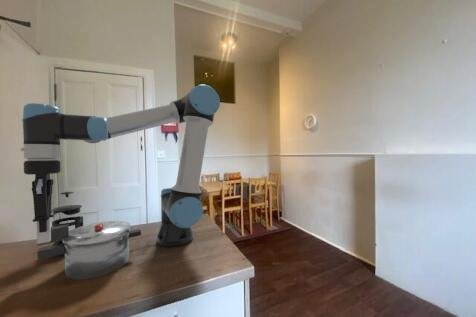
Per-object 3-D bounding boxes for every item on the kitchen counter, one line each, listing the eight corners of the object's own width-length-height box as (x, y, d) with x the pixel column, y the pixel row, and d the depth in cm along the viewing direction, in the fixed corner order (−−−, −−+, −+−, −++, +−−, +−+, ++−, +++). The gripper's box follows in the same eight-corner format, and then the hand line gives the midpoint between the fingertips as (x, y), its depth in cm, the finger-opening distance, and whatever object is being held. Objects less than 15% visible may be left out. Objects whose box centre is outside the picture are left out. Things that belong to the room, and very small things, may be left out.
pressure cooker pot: (136, 244, 85) (135, 220, 84) (145, 262, 70) (145, 233, 70) (44, 266, 68) (43, 236, 68) (32, 296, 53) (31, 258, 53)
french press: (66, 257, 74) (65, 194, 73) (42, 256, 74) (41, 194, 74) (92, 243, 85) (91, 189, 85) (71, 243, 86) (70, 189, 86)
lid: (124, 221, 83) (124, 209, 83) (136, 235, 68) (135, 221, 68) (41, 236, 67) (41, 222, 67) (33, 259, 53) (33, 241, 52)
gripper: (29, 159, 60) (31, 237, 61) (16, 160, 50) (18, 255, 50) (62, 159, 65) (63, 232, 65) (57, 160, 54) (58, 247, 55)
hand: (44, 242), depth 58 cm, fingers closed
